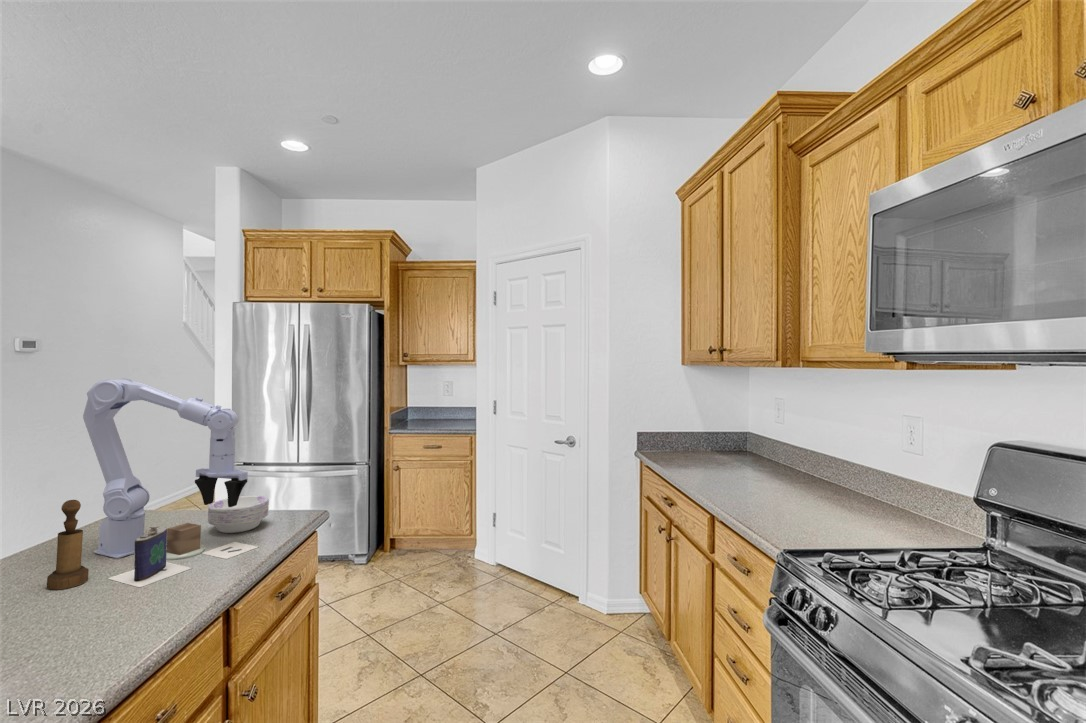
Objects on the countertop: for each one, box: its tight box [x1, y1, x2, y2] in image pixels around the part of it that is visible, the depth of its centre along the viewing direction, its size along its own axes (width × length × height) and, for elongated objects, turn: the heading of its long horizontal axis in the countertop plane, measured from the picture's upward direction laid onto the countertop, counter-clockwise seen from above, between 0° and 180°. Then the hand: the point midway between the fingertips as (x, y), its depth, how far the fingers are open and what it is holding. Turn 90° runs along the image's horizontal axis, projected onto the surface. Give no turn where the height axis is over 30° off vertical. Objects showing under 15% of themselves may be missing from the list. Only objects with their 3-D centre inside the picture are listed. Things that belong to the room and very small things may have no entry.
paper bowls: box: [207, 495, 270, 534], centre depth 144 cm, size 15×15×8 cm
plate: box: [166, 544, 206, 561], centre depth 124 cm, size 9×9×1 cm
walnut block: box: [166, 522, 202, 555], centre depth 124 cm, size 5×5×6 cm
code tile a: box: [107, 561, 193, 588], centre depth 111 cm, size 11×11×1 cm
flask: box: [133, 525, 167, 582], centre depth 112 cm, size 9×3×11 cm, turn 8°
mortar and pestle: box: [46, 499, 89, 591], centre depth 106 cm, size 7×6×18 cm
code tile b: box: [201, 541, 259, 560], centre depth 126 cm, size 9×9×1 cm
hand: (220, 505), depth 131 cm, fingers open, 7 cm apart
